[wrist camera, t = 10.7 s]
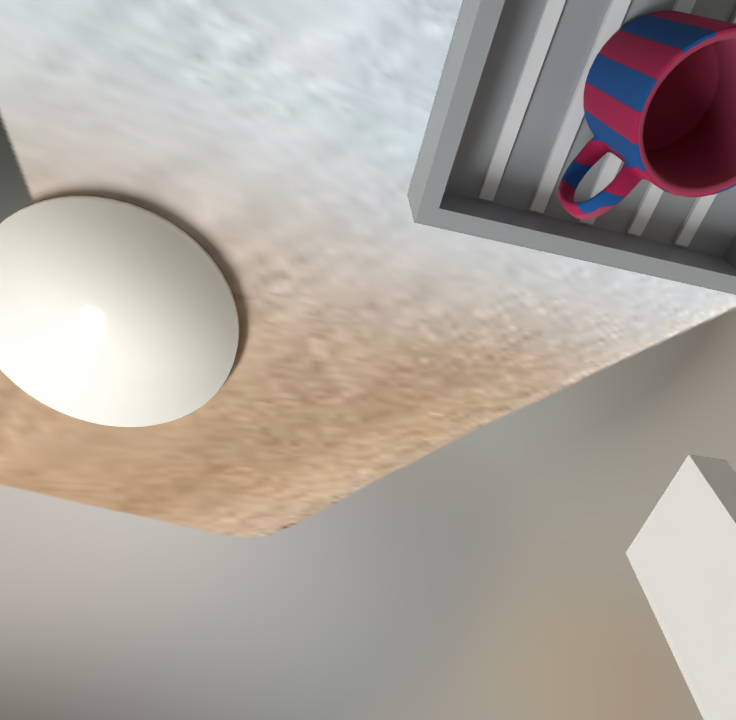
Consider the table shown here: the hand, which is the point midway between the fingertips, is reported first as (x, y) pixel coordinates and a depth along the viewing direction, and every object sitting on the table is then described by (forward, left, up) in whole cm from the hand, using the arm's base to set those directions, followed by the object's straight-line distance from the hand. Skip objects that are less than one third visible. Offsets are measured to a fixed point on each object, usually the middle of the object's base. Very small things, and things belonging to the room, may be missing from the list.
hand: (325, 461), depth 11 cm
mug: (-4, +14, -25) cm, 29 cm away
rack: (-4, +15, -27) cm, 31 cm away
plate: (+15, -11, -27) cm, 33 cm away
